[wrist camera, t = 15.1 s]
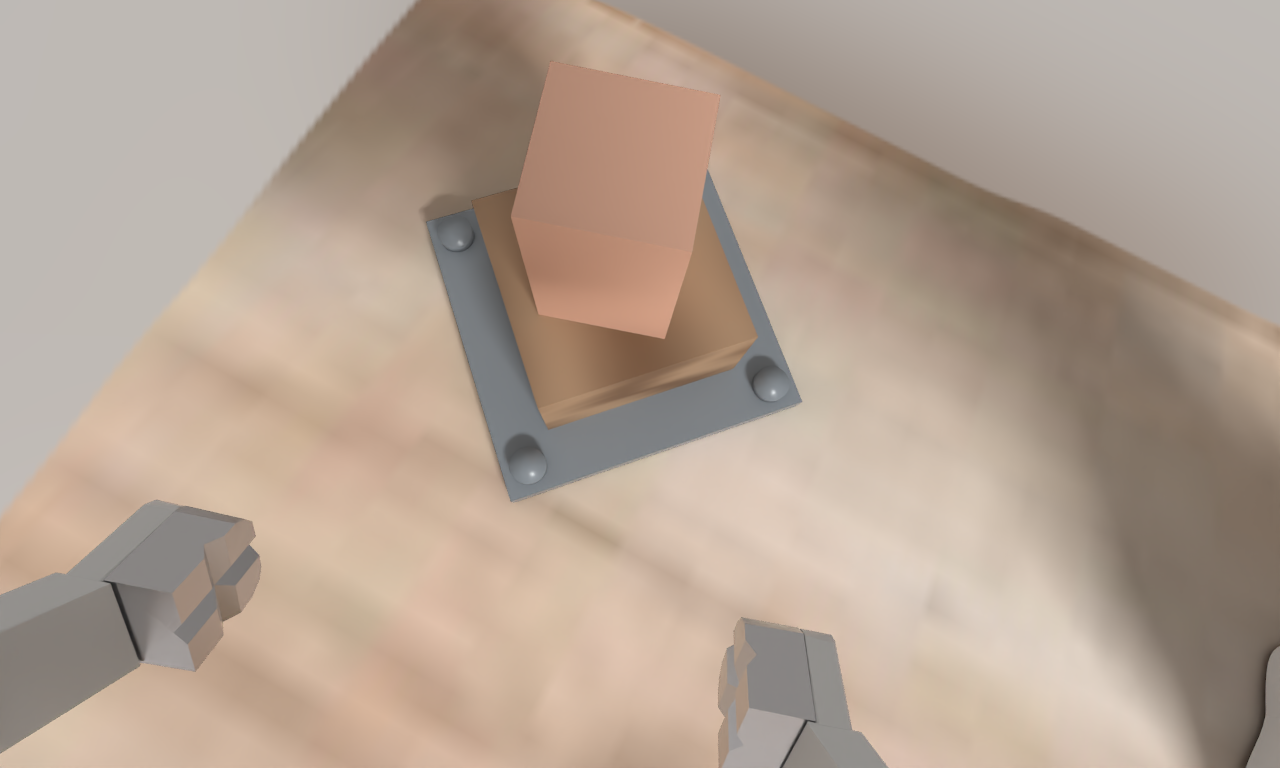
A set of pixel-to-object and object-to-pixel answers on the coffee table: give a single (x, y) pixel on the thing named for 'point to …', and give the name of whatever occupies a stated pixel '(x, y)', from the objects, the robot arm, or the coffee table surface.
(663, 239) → the terracotta block
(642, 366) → the walnut base brick
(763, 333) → the baseplate
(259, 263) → the coffee table surface
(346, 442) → the coffee table surface
